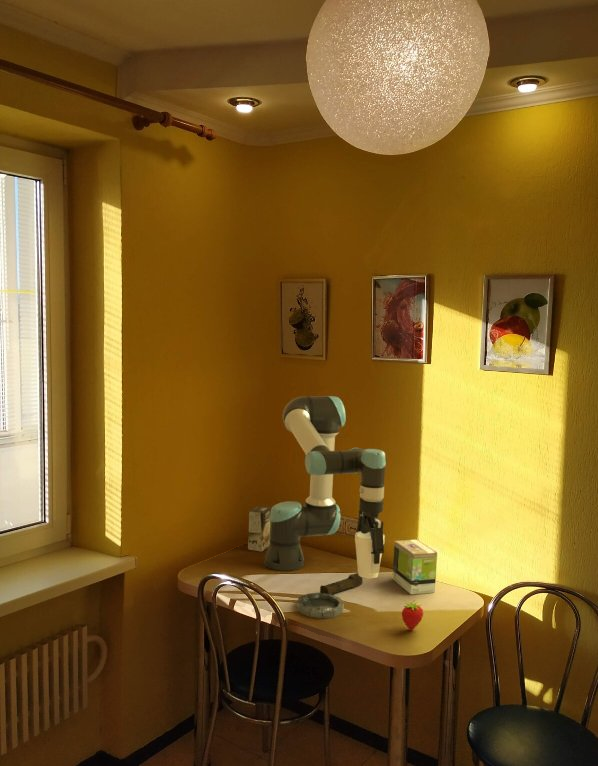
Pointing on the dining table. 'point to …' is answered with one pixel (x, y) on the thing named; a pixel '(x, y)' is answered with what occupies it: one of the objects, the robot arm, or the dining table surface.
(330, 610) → the grey shallow round dish
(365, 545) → the foam cup
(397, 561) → the tea box
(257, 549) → the coffee box
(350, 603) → the dining table surface
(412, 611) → the strawberry
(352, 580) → the hand tool
